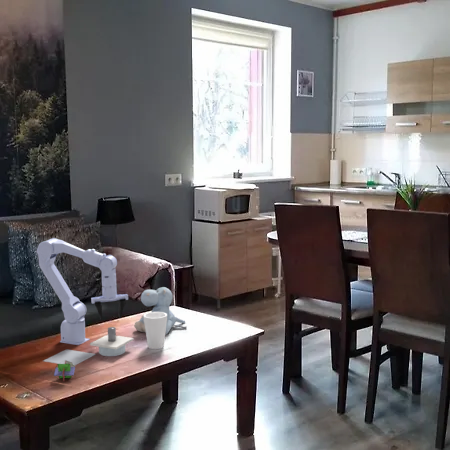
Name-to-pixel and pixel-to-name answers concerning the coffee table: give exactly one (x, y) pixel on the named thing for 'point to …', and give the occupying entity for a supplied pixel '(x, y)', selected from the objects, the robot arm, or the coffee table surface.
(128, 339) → the lid
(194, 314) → the coffee table surface
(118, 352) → the bowl
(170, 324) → the light blue rounded figure
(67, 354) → the mat
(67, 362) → the geometric puzzle
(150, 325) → the foam cup
